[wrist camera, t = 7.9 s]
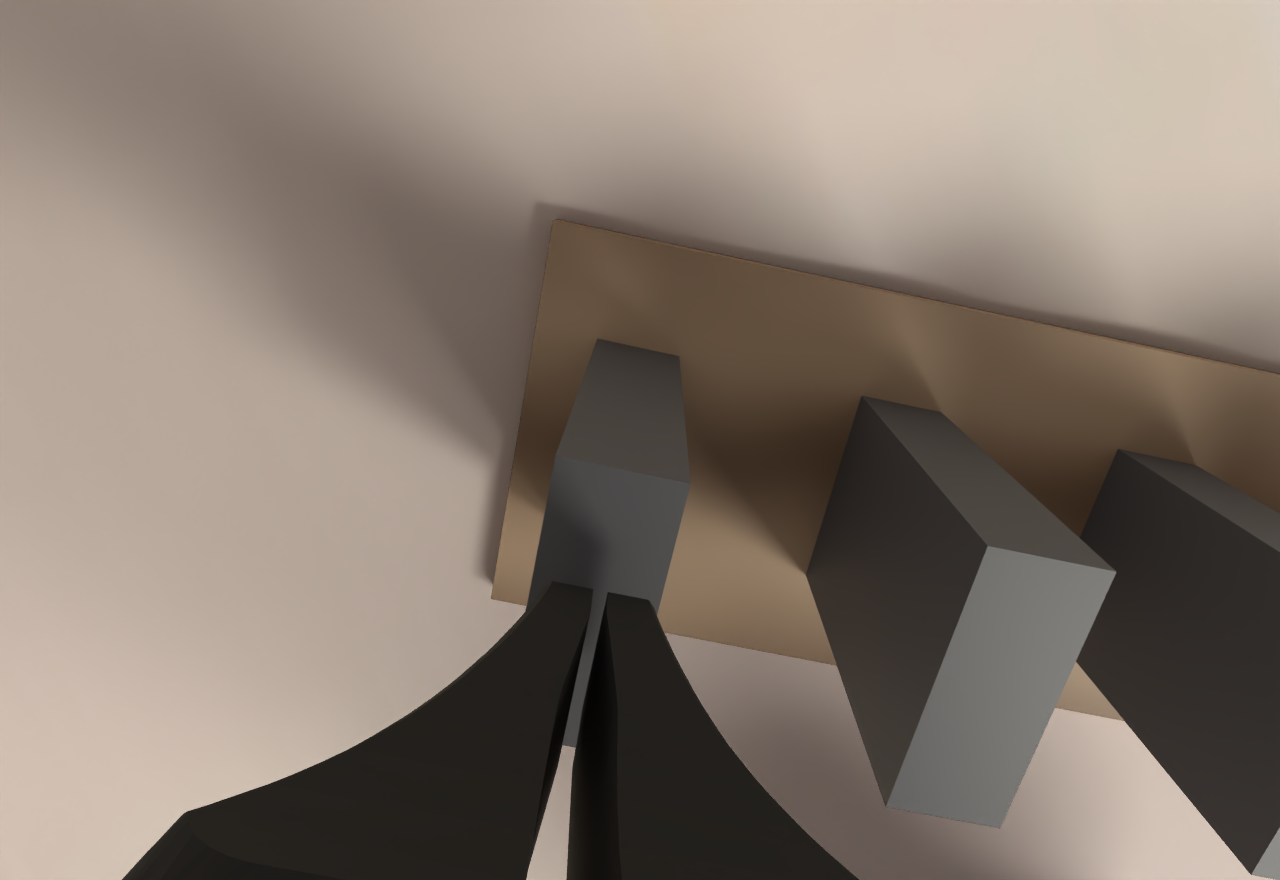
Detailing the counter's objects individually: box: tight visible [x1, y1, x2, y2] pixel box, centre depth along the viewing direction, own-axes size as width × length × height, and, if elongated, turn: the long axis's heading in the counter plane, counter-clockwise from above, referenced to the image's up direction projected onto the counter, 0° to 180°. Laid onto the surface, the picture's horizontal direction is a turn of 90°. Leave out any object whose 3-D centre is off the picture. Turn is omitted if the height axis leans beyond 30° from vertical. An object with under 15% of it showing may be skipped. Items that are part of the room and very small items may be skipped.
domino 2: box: [806, 396, 1116, 828], centre depth 17 cm, size 2×5×8 cm, turn 168°
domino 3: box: [1076, 449, 1280, 880], centre depth 17 cm, size 2×5×8 cm, turn 169°
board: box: [491, 219, 1280, 721], centre depth 21 cm, size 10×38×1 cm, turn 78°
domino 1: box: [526, 338, 691, 747], centre depth 16 cm, size 2×5×8 cm, turn 168°
